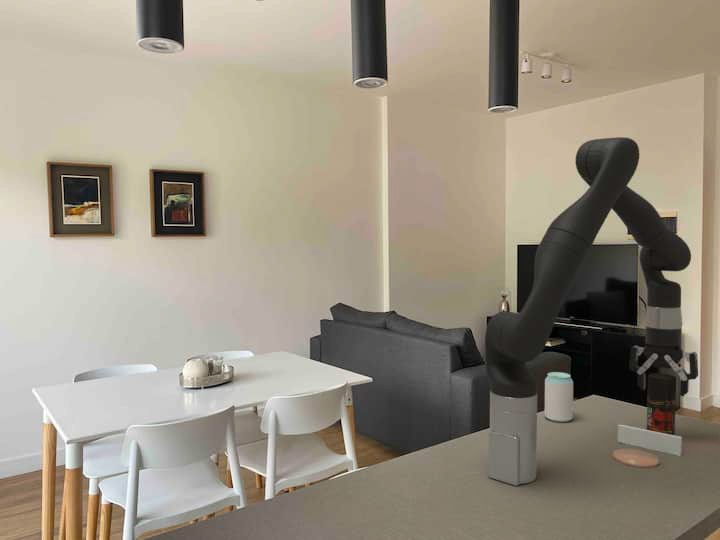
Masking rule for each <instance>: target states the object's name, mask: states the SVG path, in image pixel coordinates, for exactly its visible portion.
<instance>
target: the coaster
mask: <svg viewBox="0 0 720 540" xmlns="http://www.w3.org/2000/svg"><path fill="white" fill-rule="evenodd" d="M612 456H613V459H614V460H615V461H617V460H618V461H617V462H619V463H621V462H622V463H621V464H623V463H624V465H626V464H628V465H627V466H630V465H631V466H630V467H634V466H636V467H635V468H642V467H648V468H647V469H649V468H655V467H658V466H659V465H660V458H659V457H658V456H657V455H655V454H653V453H651V452H649V451H646V450H641V449H638V448H637V449H636V448H625V447H624V448H618V449H616V450H614V451H613V452H612Z"/></svg>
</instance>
